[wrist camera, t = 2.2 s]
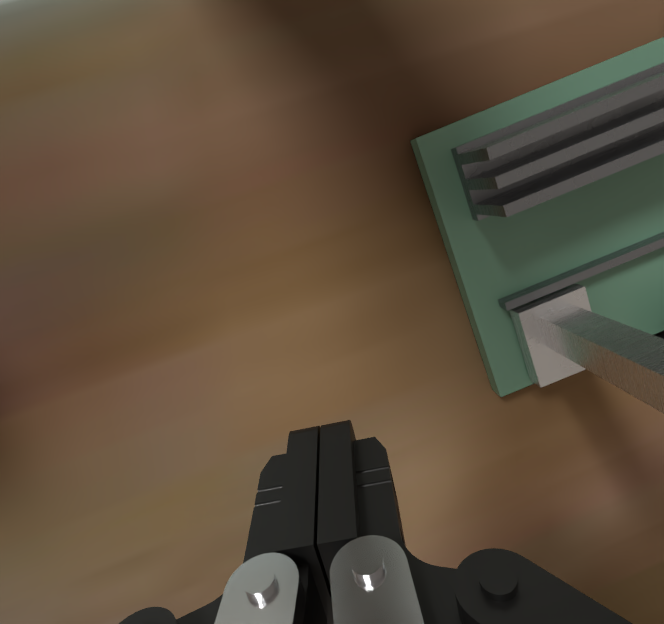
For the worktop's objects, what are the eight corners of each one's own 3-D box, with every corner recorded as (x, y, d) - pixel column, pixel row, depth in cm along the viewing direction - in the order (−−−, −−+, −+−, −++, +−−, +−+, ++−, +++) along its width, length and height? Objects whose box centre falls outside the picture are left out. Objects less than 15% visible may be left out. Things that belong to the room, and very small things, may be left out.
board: (492, 389, 38) (500, 397, 37) (409, 140, 33) (415, 138, 32) (749, 284, 38) (767, 287, 37) (705, 19, 33) (724, 11, 32)
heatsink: (522, 401, 39) (573, 445, 32) (443, 151, 34) (484, 139, 27) (718, 321, 39) (809, 347, 32) (669, 58, 34) (766, 24, 27)
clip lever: (530, 380, 37) (734, 532, 20) (508, 308, 35) (709, 409, 19) (591, 355, 37) (845, 486, 20) (572, 282, 35) (830, 360, 19)
